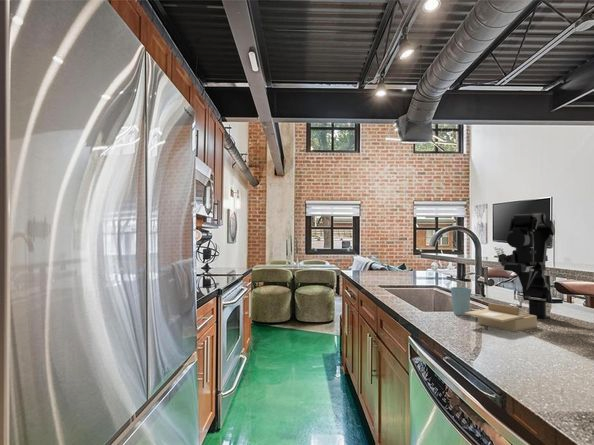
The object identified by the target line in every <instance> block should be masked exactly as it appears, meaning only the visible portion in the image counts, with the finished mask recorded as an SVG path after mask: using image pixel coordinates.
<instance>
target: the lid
mask: <svg viewBox="0 0 594 445" xmlns="http://www.w3.org/2000/svg"><path fill="white" fill-rule="evenodd" d="M519 313H520V307H516V306H511V305H505V304H504V305H503V304H499V303H491V302H488V308H484V309H478V310H472V311H469V312H465V314H466V315H465V316H472V317H477V318H478V317H481V318H486V319H491V320H496V321H501V322H505V321H510V320H514V319H519V318H524V317H525V315H520V314H519Z"/></svg>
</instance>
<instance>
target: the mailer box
mask: <svg viewBox="0 0 594 445" xmlns="http://www.w3.org/2000/svg"><path fill="white" fill-rule="evenodd" d="M519 314H520V315H525V317H524V318H519V319H514V320H510V321H505V322H501V321H496V320H491V319H486V318H481V317H477V325H481V326H486V327H489V328H493V327H494V329H498V330H503V331H506V332H507V331H508V332H512V333H520V332H524V331H529V330H531V329H535V328H537V327H538V324H537V323H538V318H537V316H535V315H529V313H525V312H524V313H522V312H519Z"/></svg>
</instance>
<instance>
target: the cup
mask: <svg viewBox="0 0 594 445" xmlns="http://www.w3.org/2000/svg"><path fill="white" fill-rule="evenodd" d="M450 293H451V294H450V295H451V303H452V304H451V305H452V309H453V310H452V311H453V315H457V316H467V315H466V314H465V312H470V302H471V296H472V288H468V287H459V286H457V287H456V286H452V287H450Z"/></svg>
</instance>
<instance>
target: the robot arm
mask: <svg viewBox="0 0 594 445" xmlns="http://www.w3.org/2000/svg"><path fill="white" fill-rule="evenodd" d="M512 216H513V217H511V219H510V224H509V228H508V232H509V234H508V235H507V238H506V243H507V244H508V245H509V246H510V247H511V248H514V250H513V251H512V253H511V254H507V255H506V253H501V254H498V260H497V262H498V263H500V264H501V267H503V271H507V272H513V273H514V274H516V276H517V277H518V279H519V282H520V284H521V288H522V290H521V291H522V297H523V301H528V314H529V315H535V316H537V319H542V320H543V319H548V318H550V317H551V315H548V314H547V304H550V303H551V304H552V303H553V298H552V292H551V290H550V287H549V284H548V283H547V282H546V280H545V271H546V269H547V268H546V259H547V250H548V245H549V244H550V243H552V241H553V237H554V236H555V235H556V234H555V233H556V229H555V225H554V222H553V220H550V219H549V218H548V217H547V216H546V213H543V212H532V213H522V214H521V213H520V214H516V213H515V214H513V215H512Z"/></svg>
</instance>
